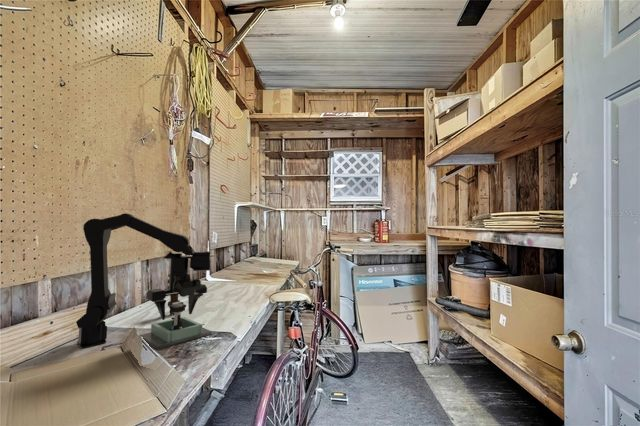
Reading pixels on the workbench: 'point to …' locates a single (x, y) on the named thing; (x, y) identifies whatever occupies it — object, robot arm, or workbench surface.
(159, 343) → the mounting plate
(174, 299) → the bolt
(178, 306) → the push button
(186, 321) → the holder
